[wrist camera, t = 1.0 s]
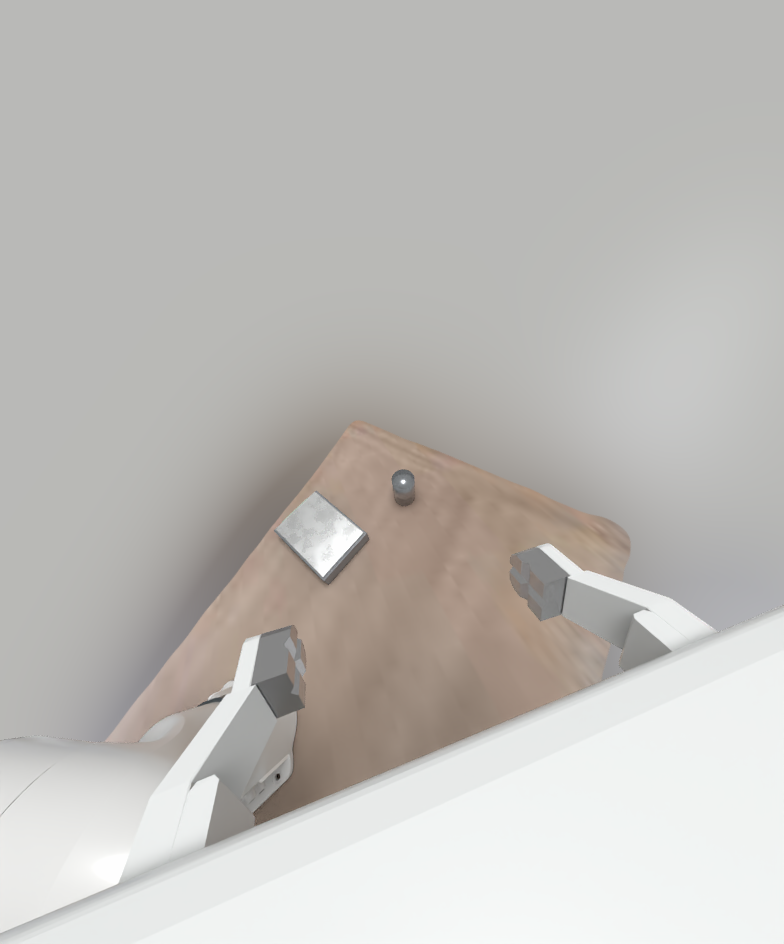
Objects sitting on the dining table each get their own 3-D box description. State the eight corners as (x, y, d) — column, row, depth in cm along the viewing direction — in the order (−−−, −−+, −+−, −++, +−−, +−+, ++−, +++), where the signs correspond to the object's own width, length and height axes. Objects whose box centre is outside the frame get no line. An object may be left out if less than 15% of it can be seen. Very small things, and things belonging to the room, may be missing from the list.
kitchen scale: (328, 584, 62) (322, 580, 58) (279, 534, 68) (270, 527, 64) (369, 538, 66) (366, 532, 62) (319, 496, 73) (313, 487, 69)
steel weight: (405, 509, 69) (404, 493, 62) (390, 498, 71) (387, 480, 63) (418, 495, 71) (418, 477, 63) (403, 484, 73) (401, 465, 65)
